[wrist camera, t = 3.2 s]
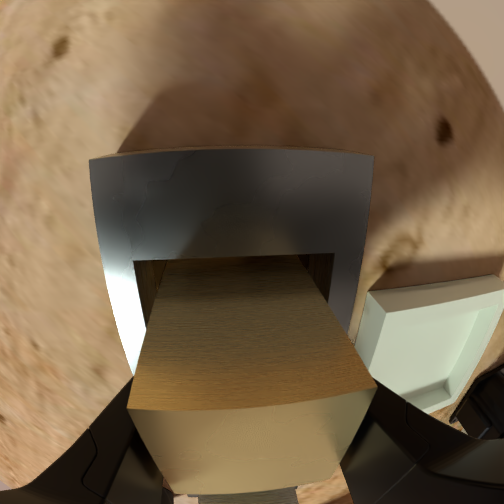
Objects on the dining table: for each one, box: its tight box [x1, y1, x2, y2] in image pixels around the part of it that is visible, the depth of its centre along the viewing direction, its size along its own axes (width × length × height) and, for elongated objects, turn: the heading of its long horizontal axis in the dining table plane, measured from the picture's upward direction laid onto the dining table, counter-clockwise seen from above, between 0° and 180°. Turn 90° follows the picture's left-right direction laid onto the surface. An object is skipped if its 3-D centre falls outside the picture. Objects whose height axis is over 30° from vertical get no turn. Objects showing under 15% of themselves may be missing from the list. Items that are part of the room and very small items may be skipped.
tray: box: [354, 274, 504, 414], centre depth 14 cm, size 10×10×2 cm
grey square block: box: [198, 487, 299, 504], centre depth 12 cm, size 4×4×7 cm
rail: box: [89, 146, 374, 497], centre depth 13 cm, size 8×22×2 cm, turn 179°
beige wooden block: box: [127, 254, 378, 494], centre depth 8 cm, size 4×4×7 cm
